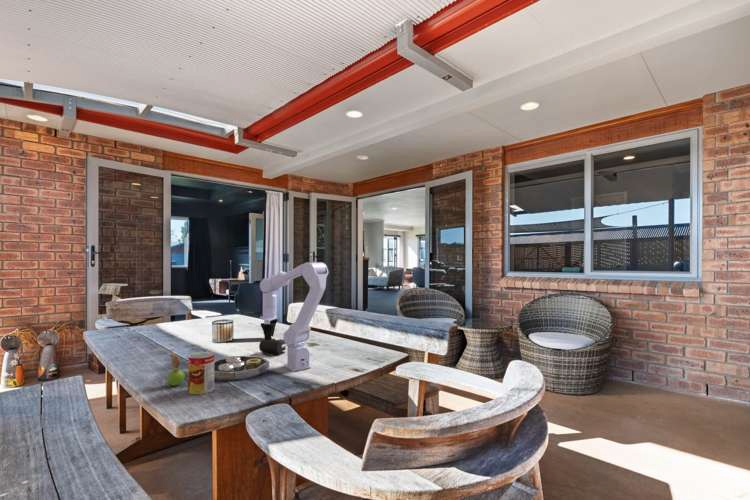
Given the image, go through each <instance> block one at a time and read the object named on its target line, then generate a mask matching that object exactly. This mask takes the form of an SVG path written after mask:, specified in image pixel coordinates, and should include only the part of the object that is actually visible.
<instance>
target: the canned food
mask: <svg viewBox="0 0 750 500" xmlns="http://www.w3.org/2000/svg"><path fill="white" fill-rule="evenodd" d="M187 357H188V362H187V363H188V369H187V371H188V373H187V374H188V375H187V378H188V379H187V380H188V381H187V382H188V383H187V393H188V394H189V393H190V394H189V395H192V394H200V395H205V394H208V392H209V393H212V392H213V391H214V390H215V380H214V361H215V352H213V351H205V350H204V351H197V352H193V353H191V354H189V355H188V356H187ZM212 390H213V391H212ZM204 393H205V394H204Z"/></svg>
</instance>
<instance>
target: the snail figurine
mask: <svg viewBox="0 0 750 500" xmlns="http://www.w3.org/2000/svg"><path fill="white" fill-rule="evenodd" d="M174 350H175V349H174V348H171V349H170V350H169V351H170V362H171V363H170V364H171V368H172V369H173V370H171V371H170V372H168V374H167V376H166V380H167V384H169V385H170V386H173V387H175V386H179V385H182V383H183V382H185V381H184V380H185V378H186V377H185V376H186V375H185V373H184V371H183V370H181V369H180V365H181V358H180V356H179V355H177V354H175V352H174Z"/></svg>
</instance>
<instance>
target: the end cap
mask: <svg viewBox="0 0 750 500" xmlns="http://www.w3.org/2000/svg"><path fill="white" fill-rule="evenodd" d="M285 344H286V343H285V342H284V338H282V339H281V338H280V339H276V338H272V337H271V340H265V338H262V339H261V340H260V342H259V345H258V348H259V351H260V352H262V354H266V355H267V354H268V355H277V356H282V355H284V354H285V353H286V351H285V350H286V347H287V346H283V345H285Z"/></svg>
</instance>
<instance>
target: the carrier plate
mask: <svg viewBox="0 0 750 500" xmlns="http://www.w3.org/2000/svg"><path fill="white" fill-rule="evenodd" d="M250 359H261V366H260V367H258V368H255V369H249V370H246V361H247V360H250ZM269 367H270V361H269V360H267V359H266V358H264V357H263V356H256V355H255V356H254V355H238V356H237V355H232V356H227V357H225V358H220V359H217V360H214V381H220V382H237V381H242V380H243V381H244V380H248V379H253V378H257V377H259V376H261V375H263V374H265V373H266V372H267V371H268V368H269Z"/></svg>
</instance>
